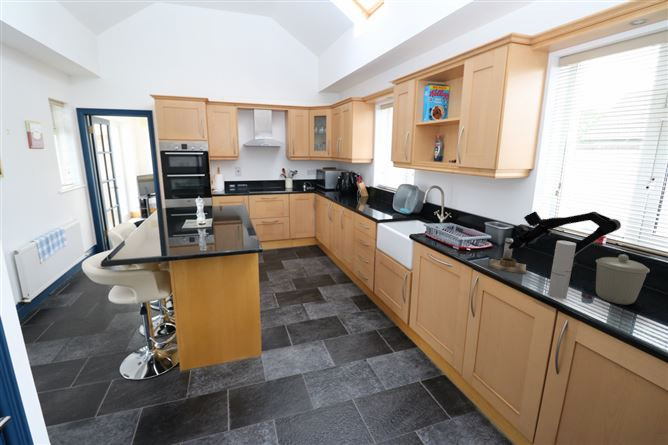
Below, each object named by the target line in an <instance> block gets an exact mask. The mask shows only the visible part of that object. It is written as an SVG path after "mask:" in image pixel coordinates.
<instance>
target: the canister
mask: <svg viewBox="0 0 668 445" xmlns="http://www.w3.org/2000/svg"><path fill="white" fill-rule="evenodd" d="M595 263H596V273H595V274H596V275H595V291H596V295H597V296H598V297H599V298H600V299H601V300H604V301H607V302H609V303H614V304H616V305H631V304H634V303H635V301H637V298H638V296H639V294H640V291H641V290H642V288H643V284H644V281H645V279H646V277H647V274H649V273H650V268H648V267H647V265H646V266H645V265H644V264H643V263H640V262H638V261H635V260H630V259H629V256H628V255H627V254H619V255H618V257H613V256H611V257H610V256H605V257H600V258H597V259H595Z"/></svg>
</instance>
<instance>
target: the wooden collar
mask: <svg viewBox="0 0 668 445" xmlns="http://www.w3.org/2000/svg"><path fill="white" fill-rule="evenodd" d="M499 260H500V265H502V266H505V267H516V263H517V260H516V259H515V258H512V257H511V258H503V257H500V259H499Z"/></svg>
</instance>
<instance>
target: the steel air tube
mask: <svg viewBox="0 0 668 445" xmlns="http://www.w3.org/2000/svg"><path fill="white" fill-rule="evenodd" d="M512 243H513V238H512V237H506V238H505V240H504V248H503V249H504V250H503V256H502V258H511V259H512V256H513V250H514V248H513V249H509V248H508V247H509V246H510V245H511V244H512Z"/></svg>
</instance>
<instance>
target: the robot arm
mask: <svg viewBox="0 0 668 445" xmlns="http://www.w3.org/2000/svg"><path fill="white" fill-rule="evenodd" d="M523 219H524V220H525V222H526V223H527V224H528V225H529V226H530V227H533V228H531V229H529V228H528V227H526V226H525V225H523V224H518V225H517V226H515V229H514V230H515V231H517V232H518V233H520V235H516V236H514V237H513V238H512V239H513V243H512V244H511V245H510V246H509V247H508V248H509V249H513V250H514V249H517V248H518V249H519V248H522V247H524V246H529V245H532V244H534V243H536V242H537V241H538V239H540V237H542V236H544V235H546V236H547V237H548V236H551V235H552V230H553V229H556V228H560V227H562V226H565V225H569V224H570V225H571V224H576V223H582V222H588V221H591V222H593V223H594V225H596V226H597V228H596V229H595V231H593V232H592V233H590V234H588V235H587V236H586V237H585V238H583V239H581V240H580V241H578V242H577V243H576V248H575V254H574V258H575V256H577V254H578V253H580V252H582V251H583V250H584V249H586V248H587V247H588V246H590V245H591V244H592V245H593V243H595V242H596V241H598V240H599V239H601V238H602V237H605V236H607V235H609V234H612V233H614V232H616V231H618V230H620V228H621V226H622V224H621V223H622V222H620V221H619V220H618V219H616V218H610V217H608V216H605V215H604V214H601V213H598V212H596V211H591V212H587V213H582V214H577V215H570V216H567V217H558V216H557V217H556V216H555V217H549V218H543V219H542V218H541V217H540V215H539V214H538V212H537V211H533V212H531V213H529V214H527V215H525V216H524V217H523ZM576 265H577V261H576V260H575V259H573V265H572V270H571V275H570V281H574V279H573V277H574V270H575V266H576Z"/></svg>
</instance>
